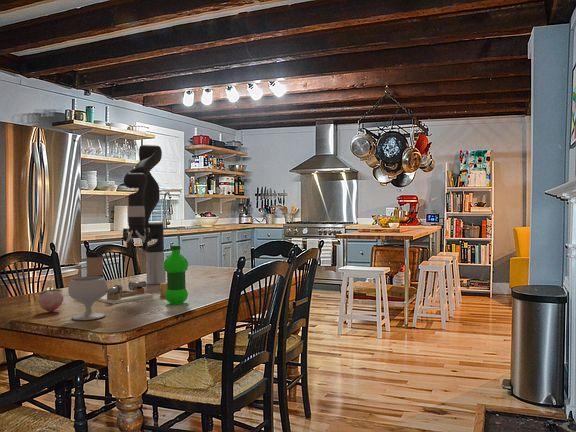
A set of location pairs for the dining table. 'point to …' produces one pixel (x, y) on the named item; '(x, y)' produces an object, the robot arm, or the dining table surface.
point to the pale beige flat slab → (126, 297)
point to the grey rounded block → (114, 293)
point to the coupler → (163, 289)
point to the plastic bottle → (176, 276)
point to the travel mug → (94, 263)
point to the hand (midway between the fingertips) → (137, 250)
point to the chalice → (87, 294)
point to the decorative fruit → (50, 299)
